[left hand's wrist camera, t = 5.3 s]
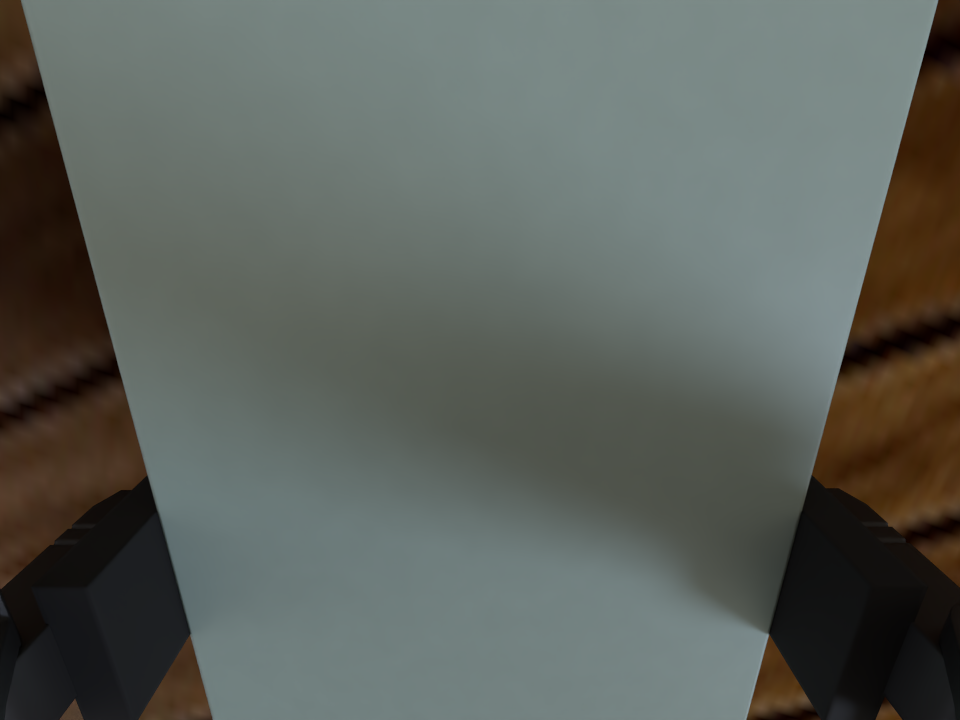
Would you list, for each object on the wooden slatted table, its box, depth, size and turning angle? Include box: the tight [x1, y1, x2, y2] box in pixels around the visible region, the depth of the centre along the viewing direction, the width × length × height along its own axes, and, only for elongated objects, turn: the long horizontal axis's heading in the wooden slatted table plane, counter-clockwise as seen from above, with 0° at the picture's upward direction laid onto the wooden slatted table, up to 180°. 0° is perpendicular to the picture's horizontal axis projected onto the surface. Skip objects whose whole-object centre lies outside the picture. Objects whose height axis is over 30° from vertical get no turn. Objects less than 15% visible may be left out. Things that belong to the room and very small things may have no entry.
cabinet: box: [21, 0, 938, 720], centre depth 11 cm, size 19×10×10 cm, turn 0°
